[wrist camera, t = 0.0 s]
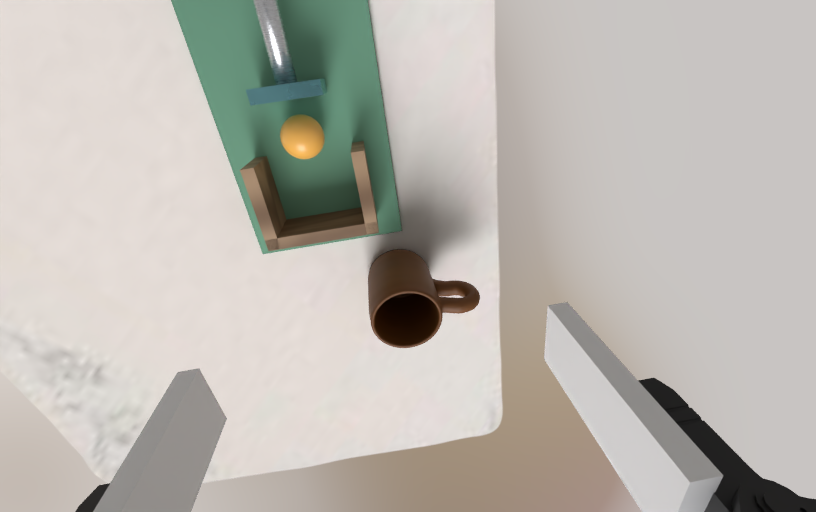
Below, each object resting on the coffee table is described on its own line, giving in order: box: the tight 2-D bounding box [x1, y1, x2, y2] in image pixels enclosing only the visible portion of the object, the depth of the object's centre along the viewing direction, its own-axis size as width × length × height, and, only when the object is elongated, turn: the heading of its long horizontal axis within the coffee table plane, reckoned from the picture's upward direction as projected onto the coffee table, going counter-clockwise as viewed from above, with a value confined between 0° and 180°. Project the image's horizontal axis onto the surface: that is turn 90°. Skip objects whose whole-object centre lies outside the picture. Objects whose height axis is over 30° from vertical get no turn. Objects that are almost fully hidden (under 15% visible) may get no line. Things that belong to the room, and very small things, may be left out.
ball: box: [280, 114, 325, 159], centre depth 34 cm, size 4×4×4 cm
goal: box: [240, 141, 379, 251], centre depth 36 cm, size 8×11×5 cm
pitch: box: [171, 0, 402, 254], centre depth 34 cm, size 32×16×1 cm, turn 7°
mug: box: [368, 250, 480, 348], centre depth 40 cm, size 12×8×9 cm, turn 97°
